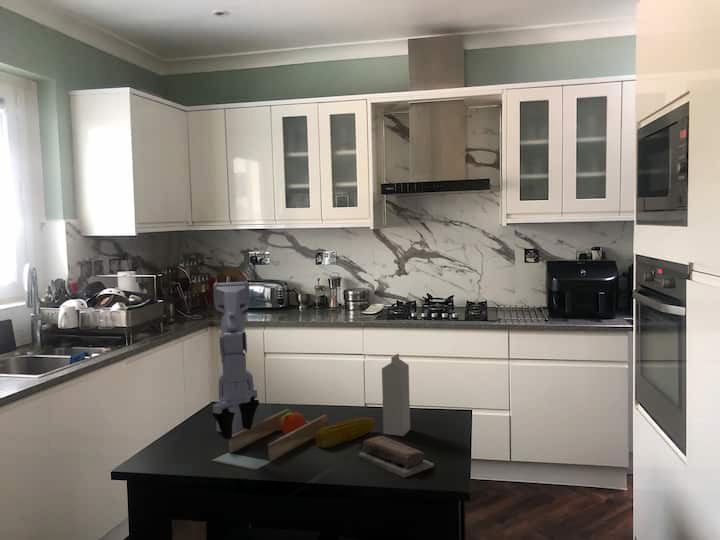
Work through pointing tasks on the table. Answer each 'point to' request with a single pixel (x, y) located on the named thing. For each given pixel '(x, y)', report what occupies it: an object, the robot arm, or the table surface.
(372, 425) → the food
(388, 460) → the packaged product
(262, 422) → the crate
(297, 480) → the table surface
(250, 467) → the panel
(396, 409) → the milk
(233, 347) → the robot arm
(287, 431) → the clementine
